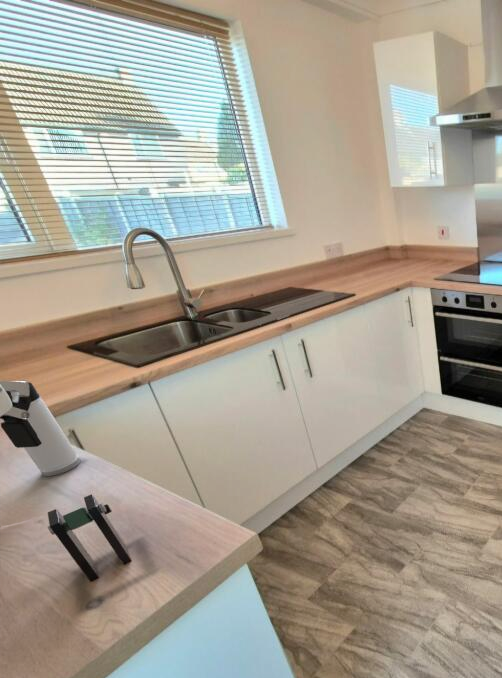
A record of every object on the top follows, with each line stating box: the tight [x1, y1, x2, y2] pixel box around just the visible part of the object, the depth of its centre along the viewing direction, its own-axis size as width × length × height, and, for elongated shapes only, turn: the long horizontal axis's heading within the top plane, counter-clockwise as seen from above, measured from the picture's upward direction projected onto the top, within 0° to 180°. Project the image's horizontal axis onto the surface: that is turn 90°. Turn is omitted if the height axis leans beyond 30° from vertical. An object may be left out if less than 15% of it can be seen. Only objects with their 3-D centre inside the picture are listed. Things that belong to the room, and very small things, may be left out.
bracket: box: [47, 493, 132, 583], centre depth 65 cm, size 10×8×13 cm
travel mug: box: [5, 380, 81, 477], centre depth 90 cm, size 6×7×20 cm
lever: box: [62, 503, 113, 531], centre depth 67 cm, size 13×6×2 cm
